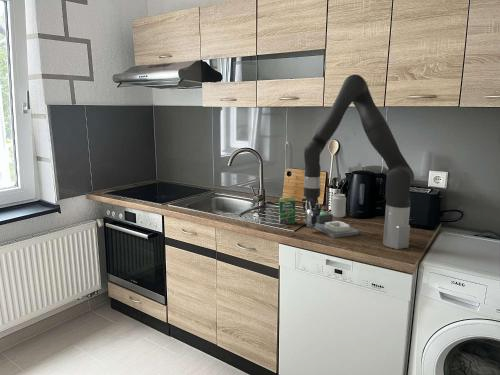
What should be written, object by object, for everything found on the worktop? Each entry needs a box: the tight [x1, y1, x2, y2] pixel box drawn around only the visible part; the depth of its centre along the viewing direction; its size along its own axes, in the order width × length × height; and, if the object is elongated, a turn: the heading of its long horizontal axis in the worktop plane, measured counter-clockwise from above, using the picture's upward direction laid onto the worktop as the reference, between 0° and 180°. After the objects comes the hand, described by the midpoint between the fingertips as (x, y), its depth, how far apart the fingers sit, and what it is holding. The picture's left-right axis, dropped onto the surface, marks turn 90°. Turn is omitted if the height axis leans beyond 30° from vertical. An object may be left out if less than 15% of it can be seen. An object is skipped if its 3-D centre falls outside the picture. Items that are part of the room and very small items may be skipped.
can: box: [330, 193, 347, 219], centre depth 196 cm, size 8×8×12 cm
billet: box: [306, 209, 315, 228], centre depth 169 cm, size 4×4×8 cm
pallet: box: [303, 210, 360, 239], centre depth 176 cm, size 26×14×6 cm, turn 22°
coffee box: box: [278, 197, 296, 225], centre depth 182 cm, size 8×3×13 cm, turn 91°
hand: (311, 222), depth 169 cm, fingers closed on billet, 4 cm apart
